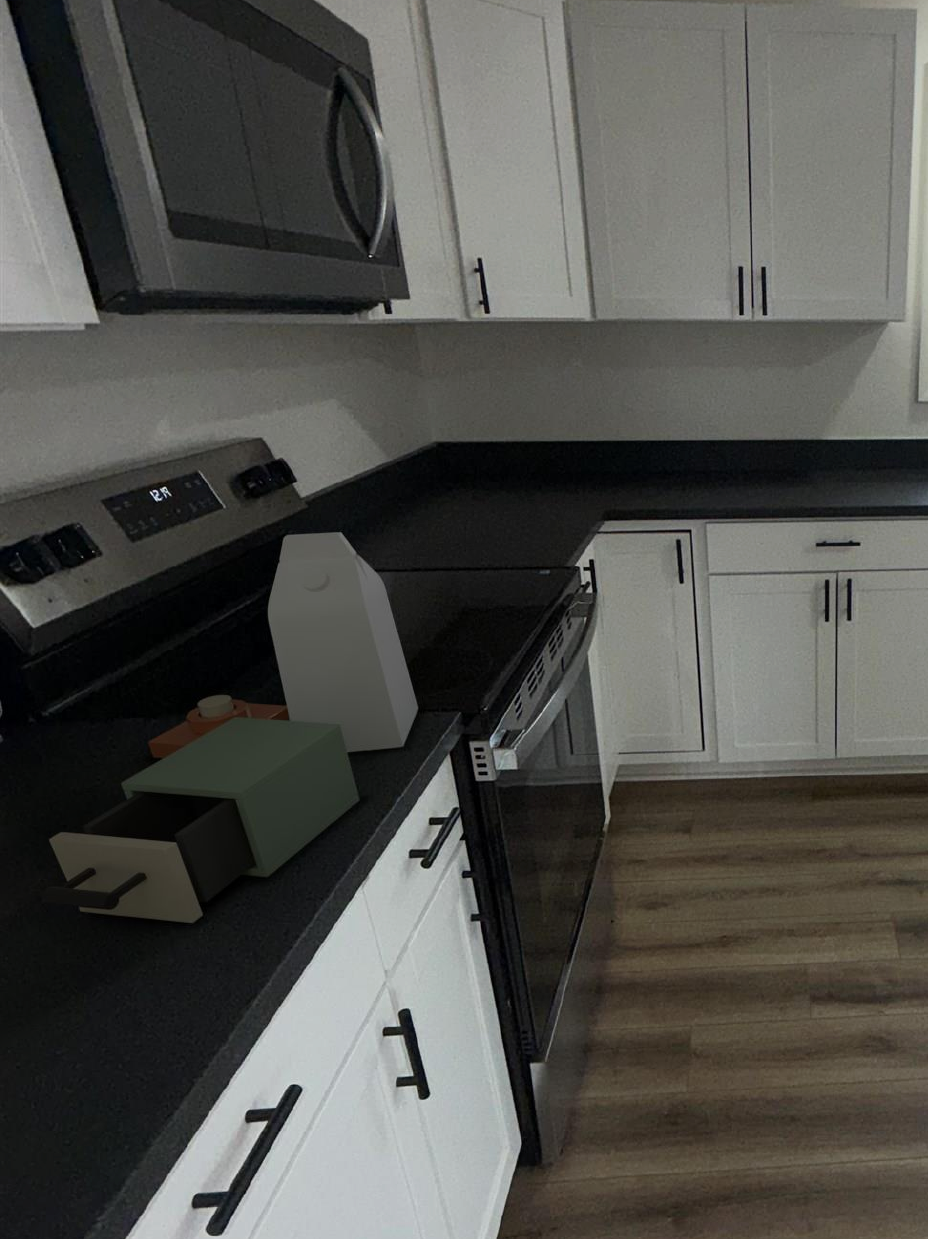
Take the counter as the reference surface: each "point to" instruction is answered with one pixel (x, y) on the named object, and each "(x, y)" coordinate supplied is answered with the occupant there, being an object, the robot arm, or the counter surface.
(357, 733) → the milk
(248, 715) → the control block
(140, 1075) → the counter surface
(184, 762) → the green drawer cabinet
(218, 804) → the beige drawer
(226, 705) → the button
